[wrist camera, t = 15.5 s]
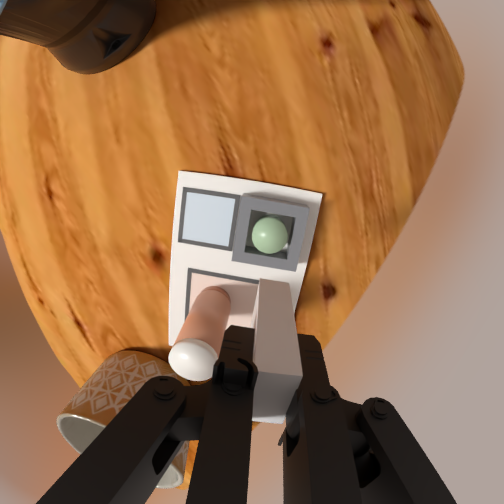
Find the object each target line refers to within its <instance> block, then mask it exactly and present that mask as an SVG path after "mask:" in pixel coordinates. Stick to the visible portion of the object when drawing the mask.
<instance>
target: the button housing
mask: <svg viewBox="0 0 504 504" xmlns="http://www.w3.org/2000/svg"><path fill="white" fill-rule="evenodd" d="M252 210H256V211H262V212H268V213H274V214H279V215H285V216H290V217H293V220H292V225H291V230H290V235H289V240H288V245H287V250H286V252H281V251H278V252H276V253H272V254H267V253H263V252H261V251H259V250H258V249H257V248H256V247H251V246H246V242H247V236H248V230H249V224H250V218H251V211H252ZM309 210H310V208H309V207H308V206H307V205H306V204H301V203H296V202H290V201H285V200H279V199H274V198H268V197H262V196H257V195H251V194H244V193H243V194H242V196H241V201H240V207H239V214H238V220H237V227H236V233H235V240H234V247H233V254H232V260H231V261H234V262H240V263H246V264H252V265H258V266H264V267H270V268H275V269H281V270H287V271H294V272H296V269H297V265H298V261H299V256H300V252H301V247H302V243H303V239H304V234H305V229H306V225H307V220H308V215H309Z"/></svg>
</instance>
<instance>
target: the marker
mask: <svg viewBox="0 0 504 504" xmlns="http://www.w3.org/2000/svg"><path fill="white" fill-rule="evenodd" d="M230 304H231V300H230V296H229V294H228V293H227V292H226V291H225V290H224V289H222V288H220V287H217V286H209V287H206V288H205V289H203V290H202V291H201V293H200V294H199V295H198V296H197V297H196V299H195V301H194V303H193V306H192V308H191V310H190V312H189V314H188V316H187V318H186V320H185V322H184V324H183V326H182V328H181V330H180V332H179V334H178V336H177V339H176V341H175V343H174V345H173V347H172V349H171V351H170V353H169V357H168V359H169V364H170V366H171V367H172V369H173V370H174V371H175V372H176V373H177V374H178V375H180V376H182V377H183V378H186V379H188V380H192V381H204V380H207V379H210V378H211V377H212V374H213V365H214V364H215V362H216V360H218V358H219V354H220V349H221V345H222V341H223V336H224V332H225V330H226V327H227V323H228V319H229V315H230V310H231V305H230Z"/></svg>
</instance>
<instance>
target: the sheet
mask: <svg viewBox="0 0 504 504" xmlns="http://www.w3.org/2000/svg"><path fill="white" fill-rule="evenodd" d="M243 193H244V194H251V195H257V196H262V197H268V198H274V199H279V200H285V201H290V202H296V203H301V204H306V205H307V206H308V207H309V208H310V210H309V215H308V220H307V225H306V229H305V234H304V239H303V243H302V247H301V252H300V256H299V261H298V265H297V269H296V272H294V271H287V270H281V269H275V268H270V267H264V266H258V265H252V264H246V263H240V262H234V261H231V260H232V254H233V247H234V240H235V233H236V227H237V220H238V214H239V207H240V201H241V196H242V194H243ZM321 199H322V193H317V192H312V191H307V190H302V189H297V188H292V187H287V186H281V185H276V184H270V183H264V182H259V181H253V180H246V179H240V178H233V177H227V176H219V175H212V174H205V173H197V172H188V171H179V174H178V183H177V192H176V201H175V211H174V222H173V235H172V249H171V266H170V289H169V345H170V346H173V345H174V343H175V341H176V339H177V336H178V334H179V332H180V330H181V328H182V326H183V324H184V322H185V320H186V318H187V316H188V314H189V312H190V310H191V308H192V306H193V303H194V301H195V299H196V297H197V296H198V295H199V294H200V293H201V291H202V290H203V289H205V288H206V287H209V286H217V287H220V288H222V289H224V290H225V291H226V292H227V293H228V294H229V296H230V300H231V304H230V305H231V310H230V315H229V319H228V323H227V327H226V329H227V328H228V327H229V326H230V325H236V326H242V327H248V328H251V321H252V316H253V311H254V306H255V301H256V296H257V290H258V285H259V280H260V278H262V279H268V280H274V281H280V282H287V283H289V286H290V292H291V298H292V304H293V311H294V312H295V308H296V305H297V301H298V297H299V293H300V289H301V286H302V282H303V278H304V274H305V270H306V266H307V262H308V257H309V253H310V249H311V245H312V240H313V236H314V232H315V227H316V223H317V218H318V213H319V209H320V204H321ZM264 215H275V216H277V217H279V218H280V219H281V220H282V221H283V222H284V224H285V226H286V230H287V234H288V239H287V243H286V245H285V246H284V247H283V249H281V250H280V251H281V252H286V250H287V245H288V240H289V235H290V230H291V225H292V220H293V217H290V216H285V215H279V214H274V213H268V212H262V211H256V210H252V211H251V218H250V224H249V230H248V236H247V242H246V246H251V247H255V245H254V244H253V241H252V232H253V227H254V224H255V222H256V221H257V220H258V219H259V218H260V217H262V216H264Z"/></svg>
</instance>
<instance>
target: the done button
mask: <svg viewBox="0 0 504 504" xmlns="http://www.w3.org/2000/svg"><path fill="white" fill-rule="evenodd" d="M287 239H288V234H287V230H286V226H285V224H284V222H283V221H282V220H281V219H280V218H279V217H277V216H275V215H264V216H262V217H260V218H259V219H258V220H257V221H256V222H255V224H254V227H253V232H252V241H253V244H254V245H255V247H256V248H257V249H258V250H259V251H261V252H263V253H267V254H272V253H276V252H278V251H280V250H281V249H283V247H284V246H285V245H286V243H287Z"/></svg>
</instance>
